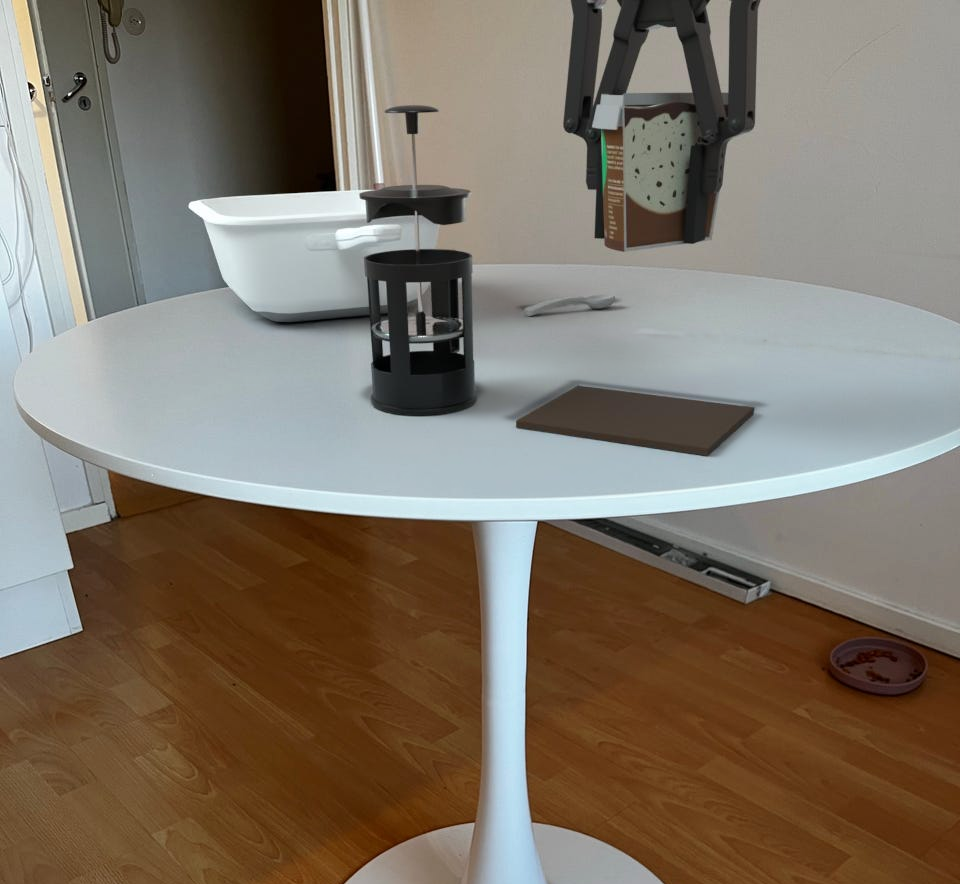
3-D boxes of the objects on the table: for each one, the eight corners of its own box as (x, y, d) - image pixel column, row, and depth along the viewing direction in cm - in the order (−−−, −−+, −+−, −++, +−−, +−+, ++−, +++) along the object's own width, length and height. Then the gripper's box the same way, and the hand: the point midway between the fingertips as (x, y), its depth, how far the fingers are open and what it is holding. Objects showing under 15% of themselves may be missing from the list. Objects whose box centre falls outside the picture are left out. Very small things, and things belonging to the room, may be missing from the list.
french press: (449, 422, 83) (439, 106, 72) (348, 412, 86) (323, 107, 75) (499, 386, 92) (497, 102, 81) (406, 378, 95) (392, 104, 84)
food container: (666, 230, 83) (677, 91, 78) (724, 238, 78) (739, 92, 74) (553, 244, 76) (557, 94, 71) (609, 254, 72) (617, 95, 67)
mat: (753, 414, 83) (754, 407, 83) (707, 456, 74) (708, 448, 74) (577, 391, 90) (577, 385, 90) (515, 427, 81) (515, 420, 81)
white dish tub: (400, 282, 143) (395, 184, 136) (524, 345, 106) (525, 216, 100) (196, 298, 134) (181, 195, 128) (256, 374, 97) (239, 234, 91)
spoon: (620, 307, 123) (620, 290, 122) (532, 324, 119) (531, 306, 118) (608, 303, 125) (608, 286, 124) (521, 319, 122) (520, 302, 121)
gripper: (514, -131, 67) (513, 238, 78) (808, -167, 59) (761, 253, 70) (563, -115, 73) (556, 227, 84) (837, -146, 64) (789, 239, 75)
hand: (649, 238), depth 77 cm, fingers closed on food container, 6 cm apart
